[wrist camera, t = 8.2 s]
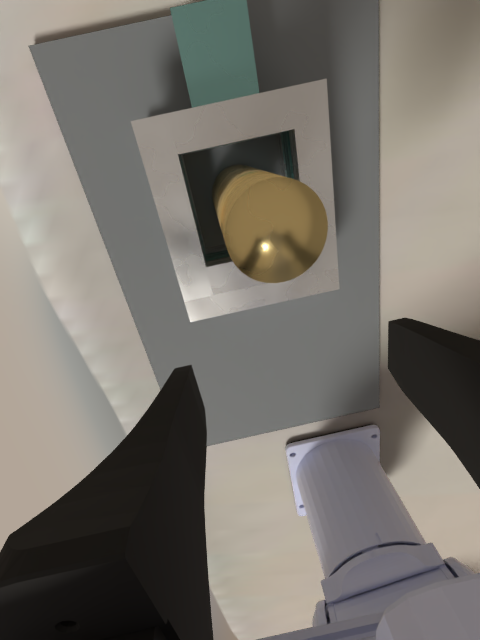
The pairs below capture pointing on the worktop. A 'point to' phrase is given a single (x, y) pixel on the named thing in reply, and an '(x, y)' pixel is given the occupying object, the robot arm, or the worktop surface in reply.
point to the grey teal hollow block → (225, 129)
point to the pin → (269, 223)
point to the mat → (202, 169)
